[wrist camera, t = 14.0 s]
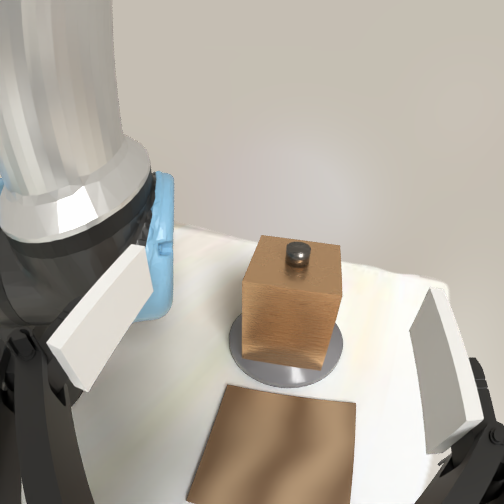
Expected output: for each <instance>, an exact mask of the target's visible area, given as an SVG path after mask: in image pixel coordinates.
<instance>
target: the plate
mask: <svg viewBox="0 0 504 504" xmlns="http://www.w3.org/2000/svg"><path fill="white" fill-rule="evenodd" d="M229 338H230V350H231V354H232V357H233V359H234V360H235V362H236V364H237V365H238V366H239V367H240V369H241V370H243V371H244V372H245V373H246V374H247V375H249V376H250V377H251V378H253V379H255V380H257V381H259V382H261V383H264V384H267V385H270V386H274V387H281V388H296V387H303V386H307V385H310V384H313V383H316V382H318V381H320V380H322V379H323V378H325V377H326V376H327V375H328V374H330V373H331V372H332V371H333V369H334V368H335V367H336V365H337V363H338V361H339V359H340V356H341V353H342V349H343V339H342V334H341V332H340V329H339V328H338V326H337V324H336V323H335V325H334V328H333V332H332V335H331V339H330V342H329V346H328V349H327V353H326V356H325V359H324V362H323V366H322V369H321V371H319V370H311V369H304V368H297V367H290V366H283V365H277V364H271V363H265V362H259V361H254V360H248V359H243V358H242V313H241V314H240V315H239V316H238V317H237V319H236V320H235V321H234V323H233V325H232V327H231V330H230V336H229Z"/></svg>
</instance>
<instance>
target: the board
mask: <svg viewBox="0 0 504 504" xmlns="http://www.w3.org/2000/svg"><path fill="white" fill-rule="evenodd" d="M355 422H356V403H348V402H337V401H327V400H318V399H310V398H302V397H295V396H288V395H281V394H275V393H269V392H263V391H258V390H252V389H247V388H242V387H237V386H232V385H227V388H226V391H225V393H224V396H223V399H222V402H221V405H220V408H219V411H218V414H217V416H216V419H215V422H214V425H213V428H212V431H211V433H210V436H209V439H208V442H207V445H206V447H205V450H204V453H203V456H202V459H201V461H200V464H199V467H198V470H197V472H196V475H195V478H194V481H193V483H192V486H191V489H190V491H189V494H188V497H187V499H186V501H188V502H191V503H195V504H350V496H351V486H352V475H353V462H354V446H355Z"/></svg>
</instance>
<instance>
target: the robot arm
mask: <svg viewBox="0 0 504 504" xmlns="http://www.w3.org/2000/svg"><path fill="white" fill-rule="evenodd" d="M115 72H116V71H115V60H114V45H113V21H112V0H0V174H1V176H2V178H0V504H21V477H22V483H23V488H24V493H25V498H26V502H27V504H94V501H93V498H92V495H91V492H90V489H89V485H88V482H87V478H86V475H85V471H84V468H83V464H82V460H81V456H80V452H79V447H78V443H77V438H76V434H75V429H74V423H73V418H72V412H71V406H72V405H73V404H74V403H75V402H76V400H77V399H78V398H79V396H80V395H81V393H82V391H83V390H84V391H86V392H89V390H90V389H91V387H92V385H93V384H94V382H95V380H96V379H97V377H98V376H99V374H100V372H101V371H102V369H103V367H104V366H105V364H106V363H107V361H108V360H109V358H110V356H111V355H112V353H113V352H114V350H115V348H116V347H117V345H118V344H119V342H120V341H121V339H122V338H123V336H124V335H125V333H126V331H127V330H128V328H129V327H130V325H131V324H133V322H139V321H147V320H155V319H159V318H161V317H163V316H165V315H166V314H167V313H168V311H169V310H170V308H171V306H172V302H173V230H174V178H173V176H172V175H170V174H168V173H162V172H160V171H157V172H153V173H151V166H150V159H149V156H148V152H147V150H146V149H145V147H144V146H143V145H142V144H141V143H139V142H138V141H136V140H134V139H132V138H131V137H129V136H127V135H125V134H123V131H122V124H121V117H120V109H119V101H118V93H117V82H116V73H115ZM409 332H410V337H411V341H412V346H413V352H414V357H415V363H416V368H417V374H418V381H419V387H420V394H421V402H422V410H423V419H424V429H425V441H426V454H437V453H443V452H445V451H446V450H447V449H448V448H450V447H451V451H452V453H451V454H450V455H449V456H447V457H446V458H444V459H443V460H442V461H440V462H439V463H438V465H439V466H440V465H441V464H442V463H444V464H443V465H442V467H441V468H440V470H439V471H438V473H437V474H436V476H435V477H434V479H433V480H432V481H431V483H430V484H429V485H428V487H427V488H426V489H425V491H424V492H423V493H422V495H421V496H420V497H419V498H418V500H417V501H416V502H415V504H504V426H503V424H501V423H499V422H497V421H496V418H495V414H494V409H493V406H492V401H491V397H490V393H489V390H488V389H487V387H488V386H487V382H486V380H485V375H484V372H483V369H482V367H481V365H480V364H479V362H478V361H477V360H476V358H468V355H467V352H466V348H465V345H464V342H463V340H462V336H461V333H460V331H459V328H458V325H457V322H456V319H455V317H454V314H453V311H452V309H451V306H450V304H449V301H448V298H447V296H446V294H445V291H444V289H440V288H432V287H430V288H429V290H428V292H427V294H426V297H425V299H424V301H423V303H422V305H421V307H420V310H419V312H418V314H417V316H416V318H415V320H414V322H413V324H412V326H411V328H410V330H409Z"/></svg>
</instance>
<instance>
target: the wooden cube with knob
mask: <svg viewBox="0 0 504 504" xmlns="http://www.w3.org/2000/svg"><path fill="white" fill-rule="evenodd" d="M341 298H342V273H341V253H340V245H332V244H325V243H317V242H310V241H303V240H295V239H287V238H280V237H272V236H264V235H262V236H261V238H260V240H259V242H258V245H257V247H256V250H255V252H254V254H253V257H252V259H251V262H250V264H249V266H248V269H247V271H246V273H245V276H244V278H243V281H242V358H243V359H248V360H254V361H259V362H265V363H271V364H277V365H283V366H290V367H297V368H304V369H311V370H319V371H321V369H322V366H323V362H324V359H325V356H326V353H327V349H328V346H329V342H330V339H331V335H332V332H333V328H334V325H335V321H336V317H337V314H338V310H339V306H340V302H341Z"/></svg>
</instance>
